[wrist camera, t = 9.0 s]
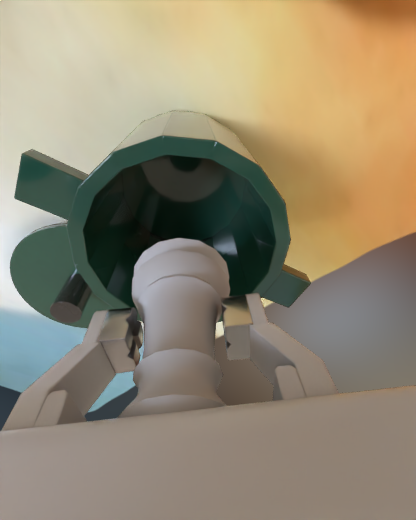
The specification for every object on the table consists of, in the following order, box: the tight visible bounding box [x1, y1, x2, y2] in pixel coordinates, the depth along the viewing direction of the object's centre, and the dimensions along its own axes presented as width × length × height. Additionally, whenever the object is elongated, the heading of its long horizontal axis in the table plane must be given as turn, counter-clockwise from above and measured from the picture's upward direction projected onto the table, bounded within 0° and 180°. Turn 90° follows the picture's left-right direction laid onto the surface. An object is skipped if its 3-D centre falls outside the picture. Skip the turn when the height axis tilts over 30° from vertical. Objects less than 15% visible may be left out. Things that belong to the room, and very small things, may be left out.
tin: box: [14, 111, 311, 322], centre depth 19 cm, size 12×17×10 cm
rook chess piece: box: [118, 238, 230, 418], centre depth 10 cm, size 4×4×8 cm
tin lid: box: [10, 224, 115, 328], centre depth 26 cm, size 13×13×5 cm
